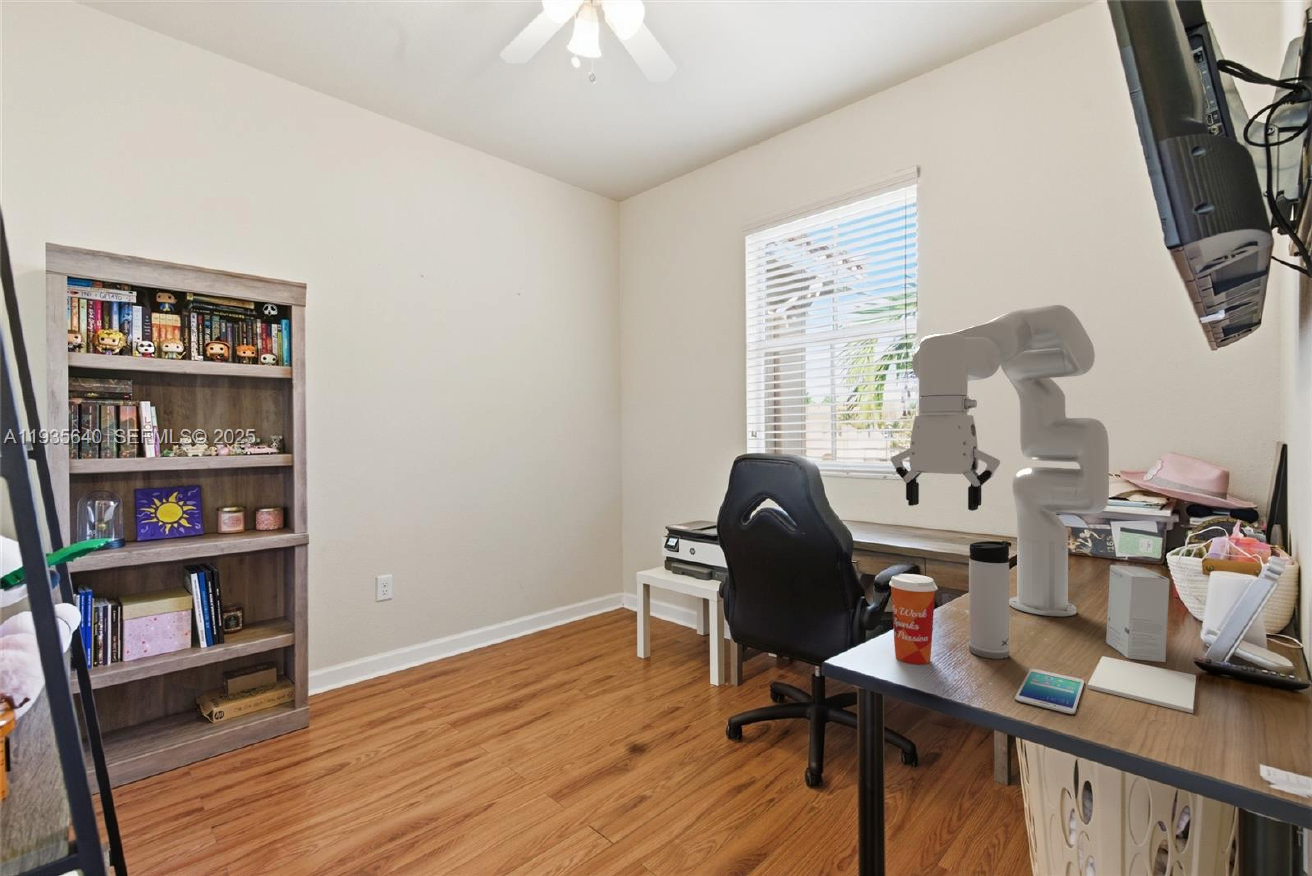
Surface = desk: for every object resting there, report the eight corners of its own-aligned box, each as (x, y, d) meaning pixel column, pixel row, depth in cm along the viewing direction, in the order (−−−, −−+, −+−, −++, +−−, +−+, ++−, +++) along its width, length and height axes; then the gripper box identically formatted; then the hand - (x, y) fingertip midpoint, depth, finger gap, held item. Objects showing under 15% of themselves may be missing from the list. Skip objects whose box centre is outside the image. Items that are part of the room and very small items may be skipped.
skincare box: (1105, 643, 111) (1105, 564, 111) (1143, 646, 109) (1143, 565, 109) (1129, 660, 102) (1129, 574, 102) (1170, 663, 101) (1170, 576, 101)
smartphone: (1085, 679, 93) (1075, 713, 82) (1085, 685, 93) (1075, 719, 82) (1030, 667, 98) (1013, 698, 87) (1030, 672, 98) (1013, 703, 87)
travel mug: (1017, 661, 102) (1017, 545, 102) (975, 658, 103) (975, 543, 103) (1003, 648, 108) (1003, 538, 108) (964, 645, 110) (964, 537, 109)
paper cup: (880, 657, 104) (880, 577, 104) (902, 647, 109) (902, 571, 109) (924, 671, 98) (924, 586, 98) (945, 659, 103) (946, 579, 103)
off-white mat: (1102, 659, 103) (1102, 656, 103) (1195, 679, 95) (1195, 675, 95) (1087, 688, 91) (1087, 684, 91) (1192, 713, 83) (1193, 709, 83)
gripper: (1005, 406, 99) (1005, 509, 99) (900, 409, 110) (899, 501, 110) (993, 405, 93) (992, 514, 93) (883, 408, 105) (883, 505, 105)
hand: (942, 507), depth 102 cm, fingers open, 9 cm apart
